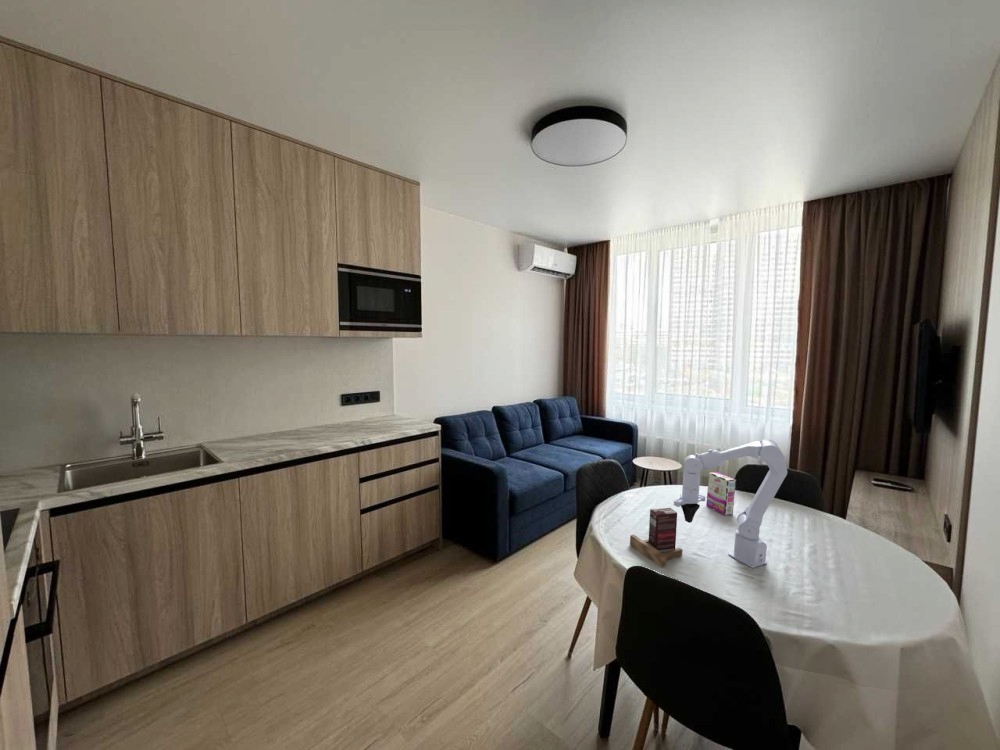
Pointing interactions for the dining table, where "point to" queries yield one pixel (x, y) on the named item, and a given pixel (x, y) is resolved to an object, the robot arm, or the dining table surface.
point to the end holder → (653, 551)
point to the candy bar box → (721, 493)
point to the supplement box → (662, 529)
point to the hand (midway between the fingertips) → (688, 521)
